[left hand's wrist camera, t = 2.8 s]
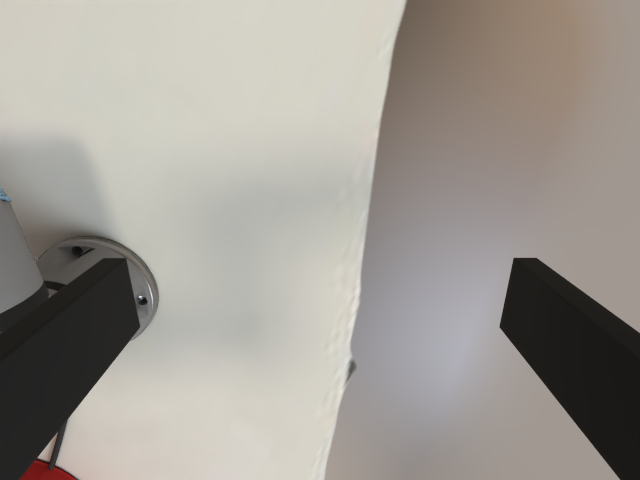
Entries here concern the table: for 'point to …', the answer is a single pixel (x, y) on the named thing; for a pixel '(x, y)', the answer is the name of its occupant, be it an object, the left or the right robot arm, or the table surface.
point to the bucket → (45, 472)
